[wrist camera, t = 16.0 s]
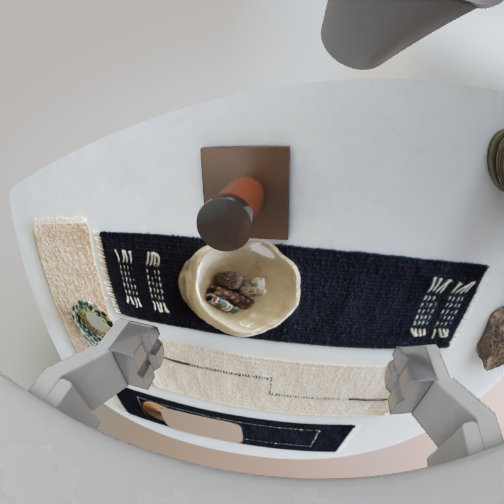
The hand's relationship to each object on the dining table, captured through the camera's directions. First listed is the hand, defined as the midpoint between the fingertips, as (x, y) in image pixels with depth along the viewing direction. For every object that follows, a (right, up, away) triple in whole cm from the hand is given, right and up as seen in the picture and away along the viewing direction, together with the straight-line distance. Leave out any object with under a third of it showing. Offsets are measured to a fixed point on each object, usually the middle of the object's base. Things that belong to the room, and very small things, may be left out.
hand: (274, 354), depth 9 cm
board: (-1, +10, +24) cm, 26 cm away
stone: (+47, -11, +26) cm, 55 cm away
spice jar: (-1, +10, +23) cm, 25 cm away
